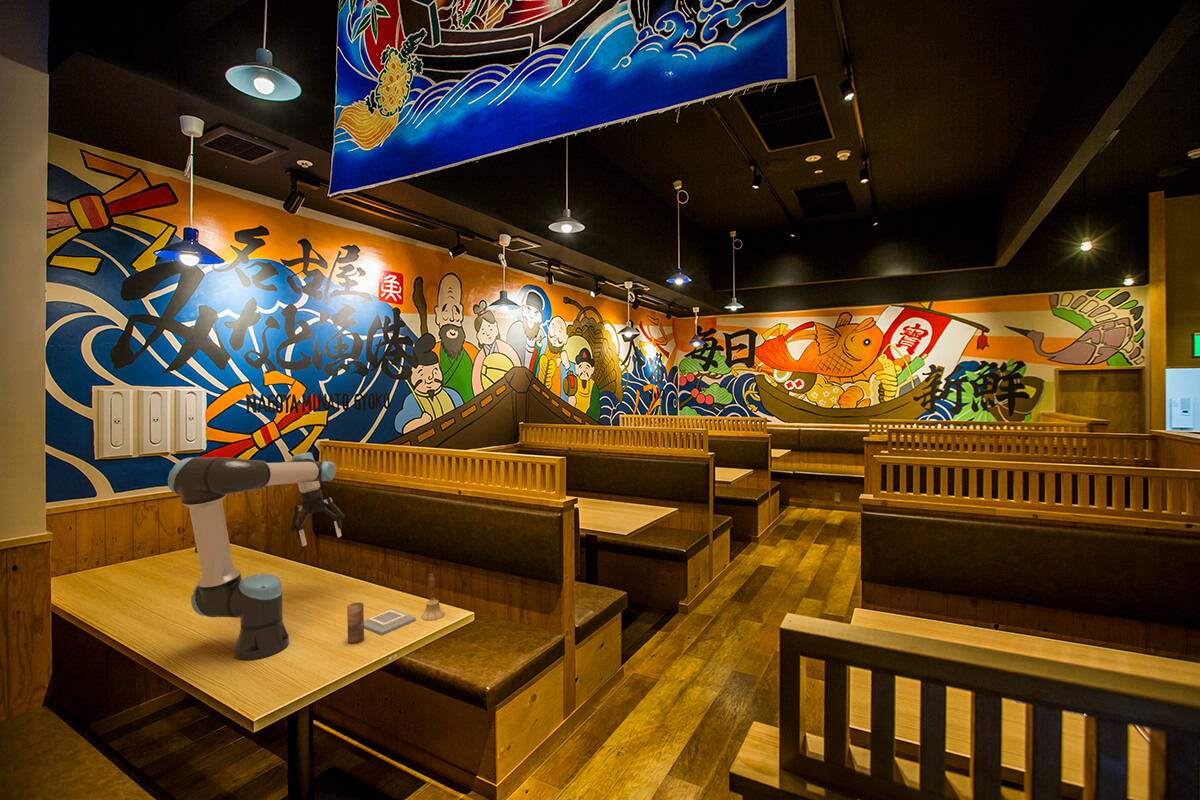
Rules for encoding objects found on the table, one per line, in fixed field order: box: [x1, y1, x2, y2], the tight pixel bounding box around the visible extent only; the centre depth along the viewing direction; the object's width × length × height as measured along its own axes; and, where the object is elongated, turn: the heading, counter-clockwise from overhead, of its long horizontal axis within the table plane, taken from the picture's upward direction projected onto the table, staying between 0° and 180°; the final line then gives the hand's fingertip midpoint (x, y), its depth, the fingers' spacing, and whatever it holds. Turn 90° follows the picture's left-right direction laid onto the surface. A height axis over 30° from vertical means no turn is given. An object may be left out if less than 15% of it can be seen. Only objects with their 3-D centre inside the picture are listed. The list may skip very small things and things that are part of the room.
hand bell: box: [421, 573, 445, 621], centre depth 198 cm, size 8×8×16 cm
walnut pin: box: [346, 602, 365, 645], centre depth 179 cm, size 5×5×12 cm
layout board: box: [364, 609, 417, 636], centre depth 192 cm, size 14×14×2 cm
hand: (322, 541), depth 216 cm, fingers open, 13 cm apart
